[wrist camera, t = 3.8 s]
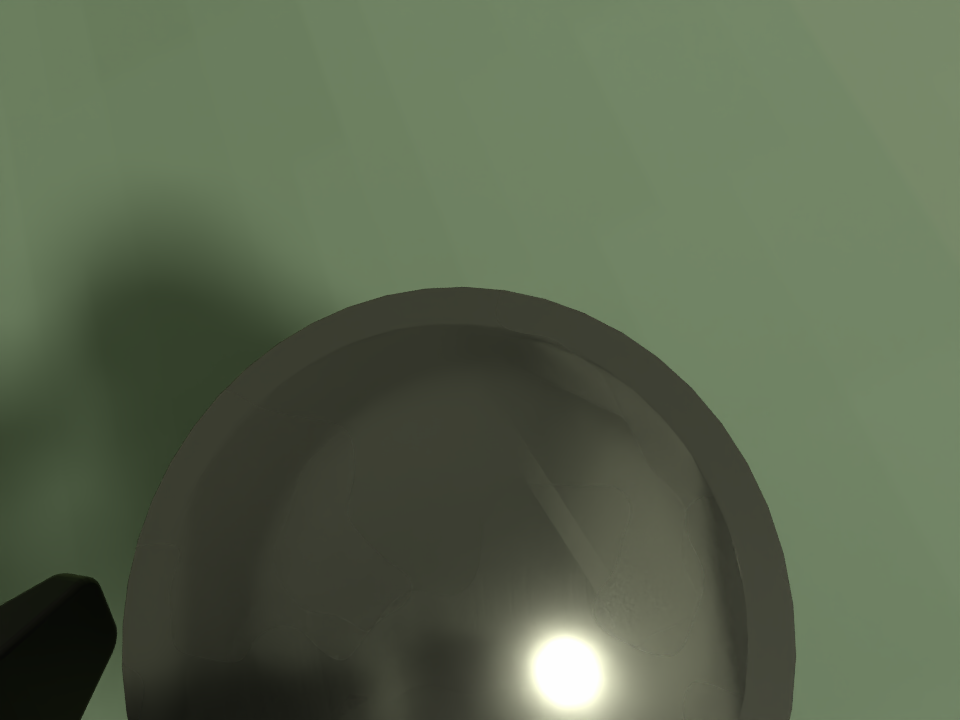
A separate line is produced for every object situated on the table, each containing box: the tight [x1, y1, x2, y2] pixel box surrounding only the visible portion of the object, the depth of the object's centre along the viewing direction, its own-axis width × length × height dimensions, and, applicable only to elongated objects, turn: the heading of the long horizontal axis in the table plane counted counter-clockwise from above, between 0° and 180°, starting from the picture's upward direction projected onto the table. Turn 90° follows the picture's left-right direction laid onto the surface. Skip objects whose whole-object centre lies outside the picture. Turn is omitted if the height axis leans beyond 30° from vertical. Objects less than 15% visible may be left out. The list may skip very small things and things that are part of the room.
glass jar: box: [122, 287, 796, 720], centre depth 11 cm, size 6×6×11 cm
